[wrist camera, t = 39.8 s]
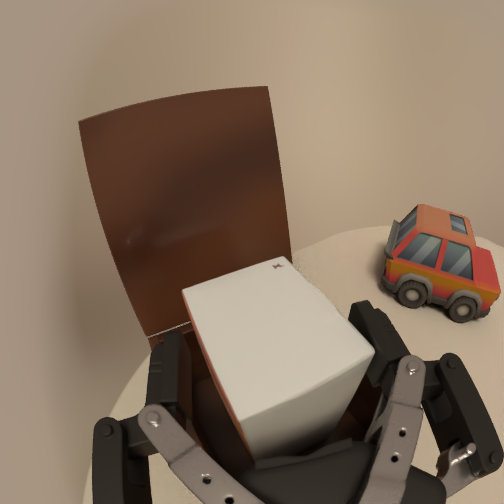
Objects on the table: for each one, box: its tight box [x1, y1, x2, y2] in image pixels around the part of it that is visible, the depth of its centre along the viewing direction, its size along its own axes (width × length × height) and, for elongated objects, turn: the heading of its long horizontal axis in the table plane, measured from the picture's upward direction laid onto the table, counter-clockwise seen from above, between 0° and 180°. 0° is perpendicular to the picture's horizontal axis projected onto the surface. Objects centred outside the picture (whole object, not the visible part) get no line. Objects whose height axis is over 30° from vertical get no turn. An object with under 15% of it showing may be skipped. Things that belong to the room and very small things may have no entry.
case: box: [148, 323, 382, 477], centre depth 17 cm, size 15×13×8 cm
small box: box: [182, 256, 375, 464], centre depth 15 cm, size 8×6×13 cm
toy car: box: [381, 204, 501, 323], centre depth 28 cm, size 12×17×10 cm
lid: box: [78, 86, 292, 336], centre depth 17 cm, size 15×13×1 cm
